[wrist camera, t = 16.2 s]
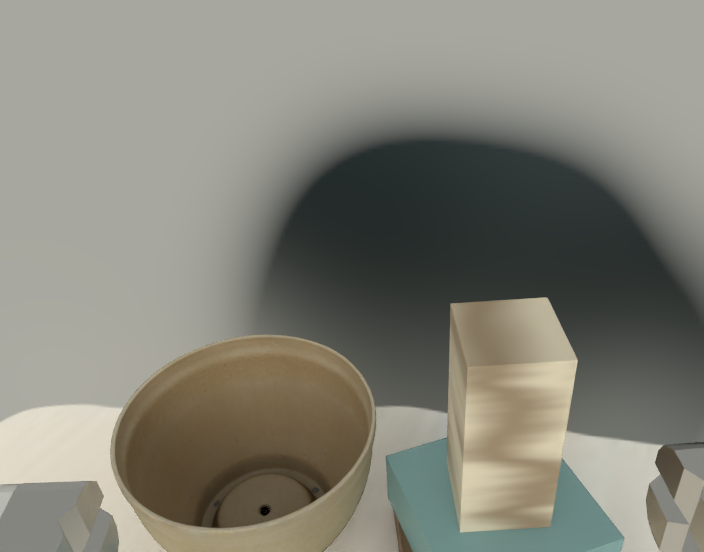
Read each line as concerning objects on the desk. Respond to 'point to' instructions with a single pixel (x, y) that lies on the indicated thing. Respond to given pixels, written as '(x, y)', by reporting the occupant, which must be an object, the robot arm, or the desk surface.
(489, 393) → the ash pillar block
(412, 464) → the teal top block
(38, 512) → the robot arm
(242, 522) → the planter bowl
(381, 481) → the desk surface
